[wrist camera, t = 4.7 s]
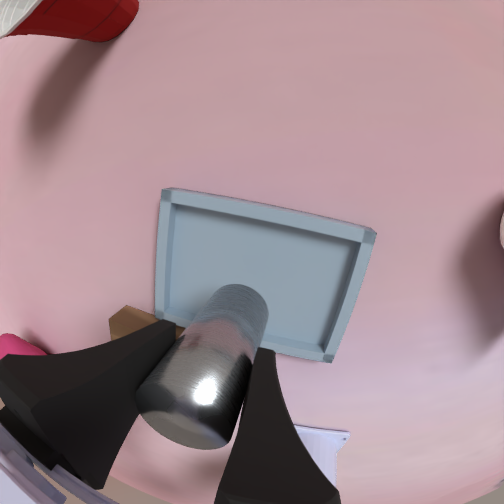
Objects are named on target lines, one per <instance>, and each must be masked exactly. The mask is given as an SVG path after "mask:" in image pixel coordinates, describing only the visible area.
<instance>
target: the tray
mask: <svg viewBox="0 0 504 504" xmlns="http://www.w3.org/2000/svg"><path fill="white" fill-rule="evenodd" d="M376 234H377V233H376V232H375V231H374V230H373V229H371V228H369V227H365V226H361V225H357V224H353V223H349V222H345V221H341V220H337V219H332V218H328V217H324V216H320V215H315V214H311V213H306V212H302V211H297V210H292V209H288V208H283V207H278V206H273V205H268V204H264V203H258V202H253V201H248V200H243V199H238V198H232V197H227V196H221V195H215V194H209V193H204V192H198V191H191V190H185V189H179V188H166V189H162V193H161V202H160V212H159V224H158V237H157V253H156V276H155V318H157V319H160V320H162V319H165V320H168V321H171V322H174V323H176V325H178V326H181V327H184V328H187V326H188V325H189V324H190V323H191V321H192V320H193V319H194V318H195V316H196V315H197V314H198V312H199V311H200V310H201V309H202V307H203V306H204V305H205V304H206V302H207V301H208V300H209V299H210V297H211V296H212V295H213V294H214V292H215V291H216V290H218V289H219V288H221V287H222V286H225V285H229V284H242V285H245V286H248V287H250V288H252V289H254V290H255V291H257V292H258V293H259V294H260V295H261V296H262V297H263V299H264V300H265V302H266V304H267V307H268V311H269V317H268V322H267V325H266V329H265V332H264V335H263V339H262V342H261V346H260V347H262V348H267V349H271V350H274V351H275V352H276V353H281V354H285V355H290V356H295V357H300V358H305V359H310V360H315V361H320V362H326V363H332V361H333V359H334V356H335V354H336V352H337V349H338V347H339V345H340V342H341V340H342V337H343V335H344V332H345V330H346V327H347V324H348V322H349V319H350V316H351V314H352V311H353V308H354V305H355V302H356V300H357V297H358V294H359V291H360V288H361V285H362V282H363V279H364V276H365V272H366V269H367V266H368V263H369V259H370V256H371V252H372V249H373V245H374V242H375V238H376Z"/></svg>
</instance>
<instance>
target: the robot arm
mask: <svg viewBox="0 0 504 504" xmlns="http://www.w3.org/2000/svg"><path fill="white" fill-rule="evenodd" d="M175 342H176V323H174V322H171V321H168V320H165V319H162V320H159V321H157V322H155V323H152V324H150V325H148V326H146V327H144V328H141V329H139V330H137V331H135V332H132V333H130V334H128V335H126V336H123V337H121V338H118V339H115V340H113V341H110V342H107V343H104V344H101V345H98V346H95V347H91V348H87V349H83V350H79V351H74V352H67V353H61V354H52V355H18V354H7V355H5V356H4V357H3V358H2V359H0V397H1V399H2V401H3V402H4V404H5V406H4V407H3V408H2V409H1V410H0V504H64V502H65V501H66V499H67V498H66V496H65V495H63V494H62V493H61V492H59V491H58V490H57V489H56V488H55V487H54V486H53V485H51V484H50V483H49V482H48V481H47V480H46V479H45V478H44V477H43V476H42V475H41V474H40V473H39V472H38V471H37V470H36V469H34V465H33V463H34V464H35V465H36V466H37V467H39V468H40V469H41V470H42V471H43V472H44V473H46V474H47V475H48V476H49V477H50V478H52V479H53V480H54V481H56V482H57V483H58V484H59V485H61V486H62V487H64V488H65V489H66V490H68V491H69V492H70V493H72V494H74V495H75V496H76V497H78V498H79V499H81V500H82V501H84V502H85V503H87V504H119V503H117V502H115V501H113V500H112V499H110V498H108V497H106V496H104V495H103V494H101V493H99V492H98V491H96V490H99V489H103V487H104V485H105V482H106V479H107V477H108V474H109V472H110V469H111V467H112V465H113V463H114V460H115V458H116V456H117V454H118V452H119V450H120V448H121V446H122V444H123V442H124V440H125V438H126V436H127V434H128V432H129V431H130V429H131V427H132V425H133V423H134V422H135V420H136V418H137V417H138V415H139V414H140V413H139V411H138V409H137V407H136V403H135V394H136V391H137V390H138V389H139V387H140V386H141V385H142V383H143V382H144V381H145V380H146V378H147V377H148V376H149V375H150V373H151V372H152V371H153V369H154V368H155V367H156V366H157V364H158V363H159V362H160V361H161V359H162V358H163V357H164V355H165V354H166V353H167V352H168V350H169V349H170V348H171V347H172V345H173V344H174V343H175ZM275 355H276V353H275V351H274V350H271V349H267V348H262V347H258V349H257V351H256V354H255V357H254V362H253V366H252V370H251V374H250V378H249V382H248V387H247V391H246V395H245V398H244V402H243V407H242V412H241V417H240V423H239V428H238V433H237V436H236V439H235V442H234V445H233V448H232V450H231V453H230V456H229V459H228V462H227V465H226V467H225V470H224V473H223V476H222V478H221V481H220V484H219V486H218V490H217V494H216V497H215V501H214V504H341V500H340V495H339V491H338V490H337V489H336V466H337V452H338V451H339V450H340V449H341V447H342V446H343V445H344V444H345V442H346V441H347V440H348V439H349V437H350V433H349V432H344V431H334V430H325V429H317V428H309V427H303V426H297V425H293V422H292V420H291V418H290V415H289V413H288V410H287V407H286V404H285V401H284V398H283V395H282V392H281V388H280V384H279V380H278V375H277V369H276V358H275Z"/></svg>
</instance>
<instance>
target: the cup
mask: <svg viewBox="0 0 504 504" xmlns="http://www.w3.org/2000/svg"><path fill="white" fill-rule="evenodd" d="M500 241H501V245H502V247H503V248H504V213H503V216H502V219H501V223H500Z"/></svg>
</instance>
